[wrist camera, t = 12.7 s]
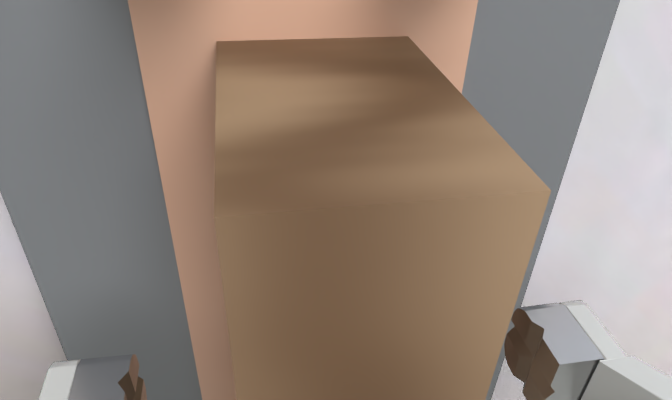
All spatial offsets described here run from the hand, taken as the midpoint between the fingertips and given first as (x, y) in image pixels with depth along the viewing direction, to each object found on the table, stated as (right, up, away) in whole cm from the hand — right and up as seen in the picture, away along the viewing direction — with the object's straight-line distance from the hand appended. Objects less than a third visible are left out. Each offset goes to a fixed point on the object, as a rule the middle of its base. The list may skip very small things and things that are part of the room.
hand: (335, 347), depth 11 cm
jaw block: (-1, +2, +3) cm, 3 cm away
